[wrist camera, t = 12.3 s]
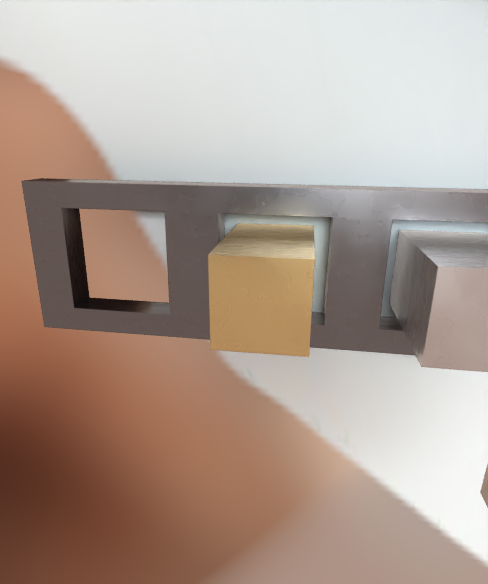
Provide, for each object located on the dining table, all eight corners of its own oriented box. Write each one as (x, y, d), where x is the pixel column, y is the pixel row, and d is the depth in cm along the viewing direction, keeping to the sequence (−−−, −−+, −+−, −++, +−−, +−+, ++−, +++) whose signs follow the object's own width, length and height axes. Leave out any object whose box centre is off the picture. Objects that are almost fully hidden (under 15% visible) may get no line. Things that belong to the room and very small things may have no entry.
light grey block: (389, 303, 26) (421, 366, 19) (399, 229, 25) (438, 266, 17) (468, 308, 25) (534, 375, 18) (483, 232, 24) (561, 272, 16)
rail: (61, 315, 30) (44, 326, 28) (41, 178, 27) (21, 181, 25) (517, 348, 26) (533, 364, 24) (556, 191, 23) (578, 195, 21)
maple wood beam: (237, 294, 27) (210, 349, 20) (237, 223, 26) (208, 254, 18) (309, 297, 27) (308, 356, 19) (313, 225, 25) (314, 259, 18)
